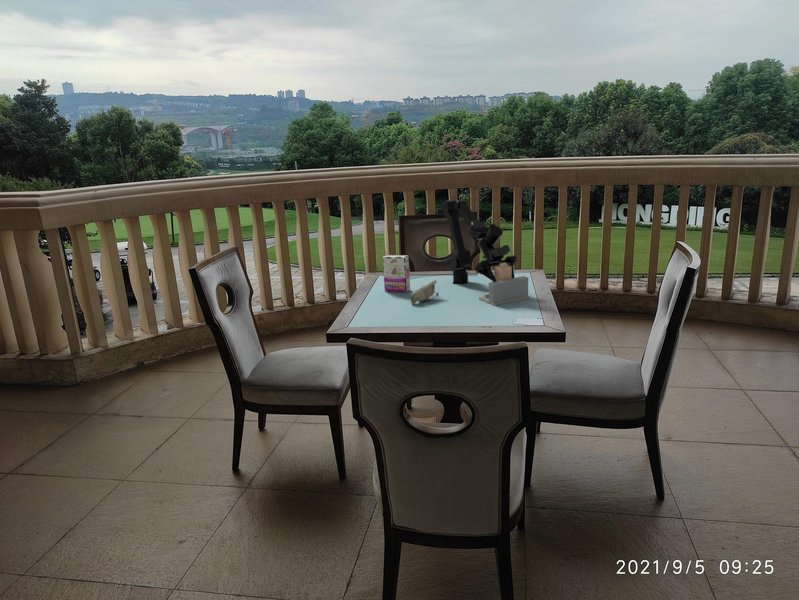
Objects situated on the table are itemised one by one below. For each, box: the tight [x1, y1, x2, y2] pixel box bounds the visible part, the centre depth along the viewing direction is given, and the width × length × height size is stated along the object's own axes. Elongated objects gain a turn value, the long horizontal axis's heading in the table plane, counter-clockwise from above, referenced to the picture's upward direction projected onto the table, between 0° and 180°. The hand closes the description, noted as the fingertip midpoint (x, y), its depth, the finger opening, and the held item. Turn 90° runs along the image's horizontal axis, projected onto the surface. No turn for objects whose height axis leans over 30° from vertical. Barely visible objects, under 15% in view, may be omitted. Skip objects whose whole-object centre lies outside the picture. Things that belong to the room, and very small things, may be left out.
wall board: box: [478, 275, 530, 306], centre depth 228 cm, size 11×18×9 cm, turn 117°
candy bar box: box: [382, 254, 411, 293], centre depth 247 cm, size 11×5×16 cm, turn 68°
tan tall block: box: [493, 262, 512, 281], centre depth 228 cm, size 4×6×15 cm, turn 117°
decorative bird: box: [410, 279, 440, 306], centre depth 232 cm, size 5×16×8 cm, turn 137°
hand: (504, 280), depth 226 cm, fingers open, 9 cm apart
